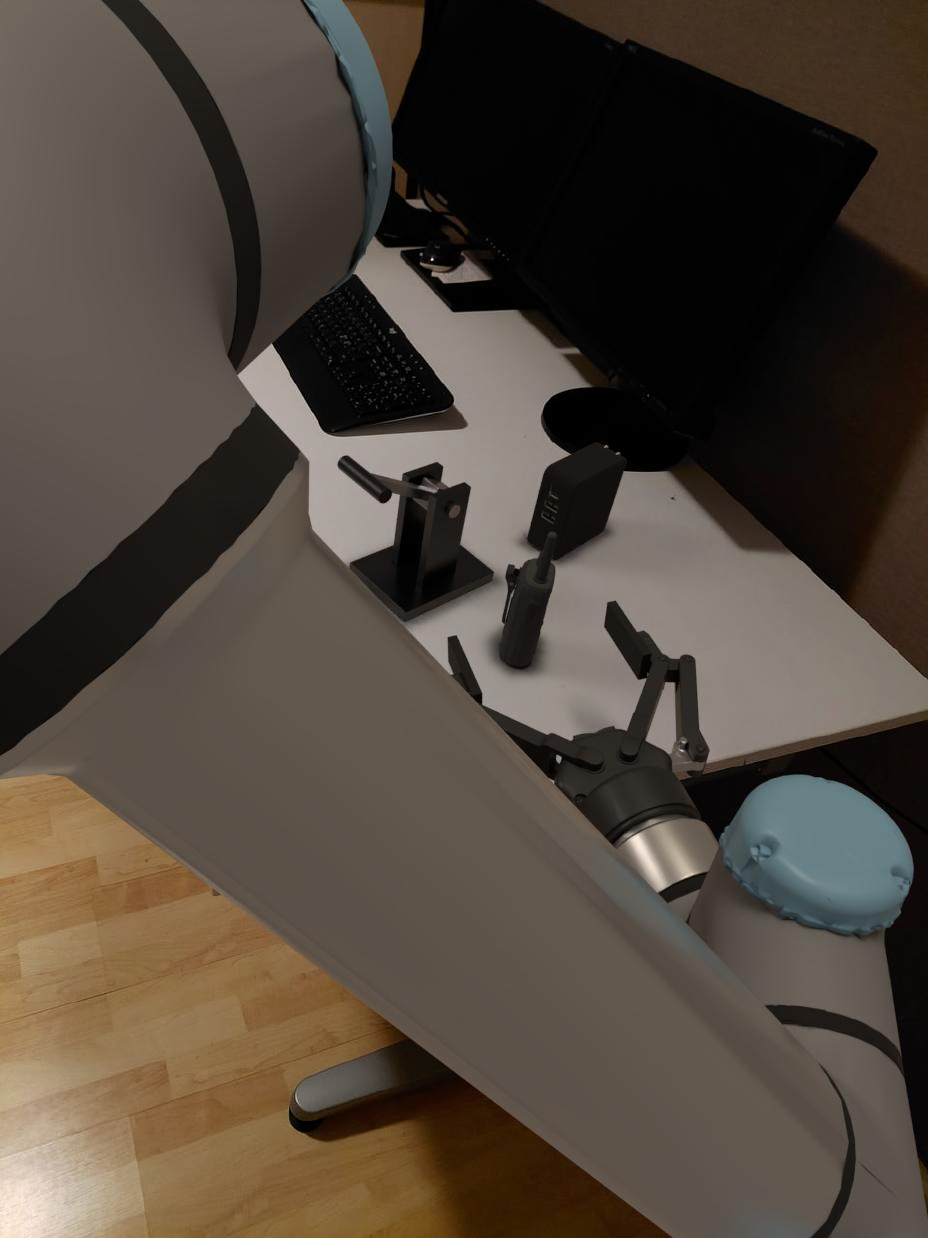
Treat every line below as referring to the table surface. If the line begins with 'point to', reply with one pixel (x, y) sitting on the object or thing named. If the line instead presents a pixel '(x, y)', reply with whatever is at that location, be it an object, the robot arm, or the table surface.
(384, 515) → the table surface
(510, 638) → the two-way radio
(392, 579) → the bracket
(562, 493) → the electronic device
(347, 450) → the table surface
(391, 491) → the lever
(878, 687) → the table surface
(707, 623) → the table surface
